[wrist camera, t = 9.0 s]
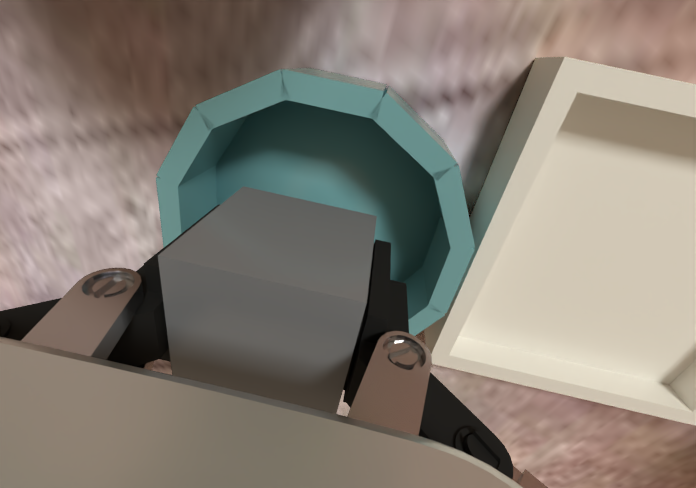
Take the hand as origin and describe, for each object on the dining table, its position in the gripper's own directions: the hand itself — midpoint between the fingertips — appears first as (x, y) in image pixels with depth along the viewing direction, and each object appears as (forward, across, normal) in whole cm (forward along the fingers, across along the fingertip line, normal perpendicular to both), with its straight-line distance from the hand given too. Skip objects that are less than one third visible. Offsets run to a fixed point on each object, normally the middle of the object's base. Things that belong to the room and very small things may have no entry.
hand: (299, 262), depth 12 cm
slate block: (0, 0, 0) cm, 0 cm away
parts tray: (+4, -13, -1) cm, 14 cm away
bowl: (+4, 0, 0) cm, 4 cm away
